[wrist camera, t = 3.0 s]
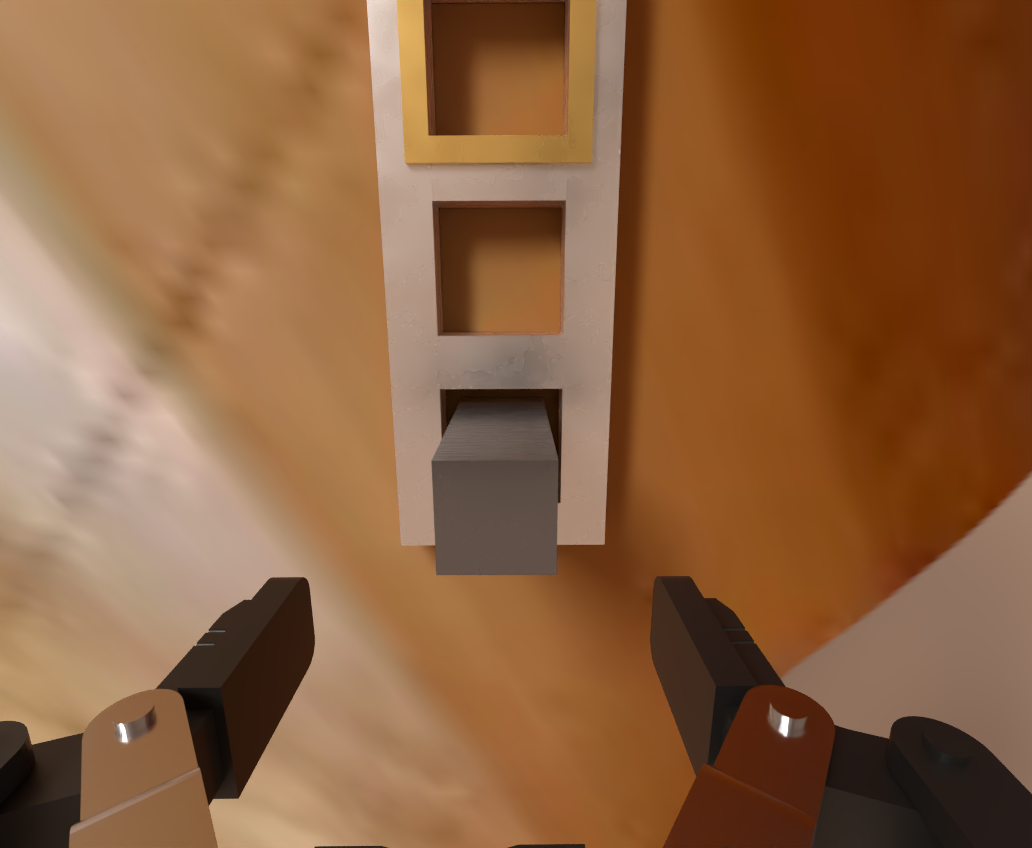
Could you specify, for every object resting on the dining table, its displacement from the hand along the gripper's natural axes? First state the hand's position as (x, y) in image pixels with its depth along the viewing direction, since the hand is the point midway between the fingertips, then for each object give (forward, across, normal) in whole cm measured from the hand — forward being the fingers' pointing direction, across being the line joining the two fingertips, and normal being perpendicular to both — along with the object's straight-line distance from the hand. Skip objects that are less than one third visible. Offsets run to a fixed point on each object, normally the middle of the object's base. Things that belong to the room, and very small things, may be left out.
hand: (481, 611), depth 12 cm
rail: (+15, 0, -8) cm, 17 cm away
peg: (+15, 0, 0) cm, 15 cm away
